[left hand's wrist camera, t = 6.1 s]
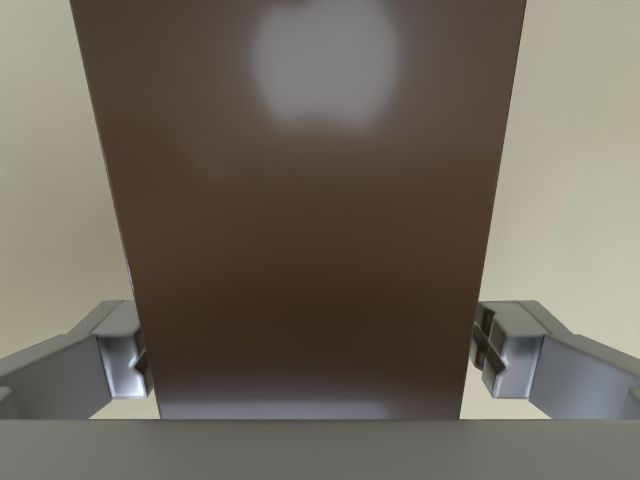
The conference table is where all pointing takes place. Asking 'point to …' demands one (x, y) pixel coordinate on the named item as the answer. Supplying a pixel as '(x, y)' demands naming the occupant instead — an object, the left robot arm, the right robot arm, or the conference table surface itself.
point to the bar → (303, 194)
